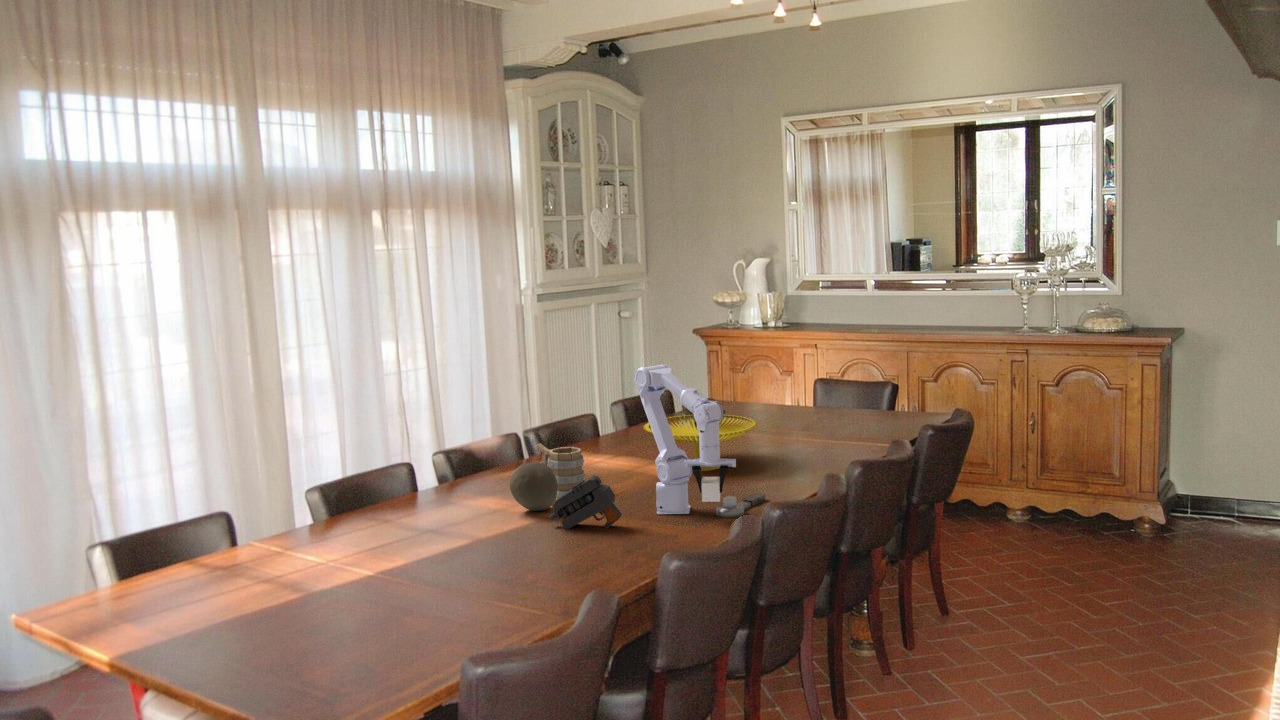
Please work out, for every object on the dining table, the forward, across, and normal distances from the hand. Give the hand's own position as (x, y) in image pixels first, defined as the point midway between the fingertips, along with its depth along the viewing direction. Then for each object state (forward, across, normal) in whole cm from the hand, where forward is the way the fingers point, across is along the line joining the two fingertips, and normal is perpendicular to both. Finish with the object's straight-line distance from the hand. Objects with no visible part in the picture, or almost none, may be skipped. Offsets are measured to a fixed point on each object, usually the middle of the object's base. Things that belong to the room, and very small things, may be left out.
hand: (711, 491), depth 293 cm
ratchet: (+9, +9, +13) cm, 18 cm away
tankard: (+9, -51, +37) cm, 64 cm away
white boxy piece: (+2, 0, 0) cm, 2 cm away
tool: (+9, -36, -4) cm, 37 cm away
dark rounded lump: (+9, -8, +131) cm, 132 cm away
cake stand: (+9, -6, +68) cm, 69 cm away
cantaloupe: (+9, -54, +13) cm, 56 cm away
